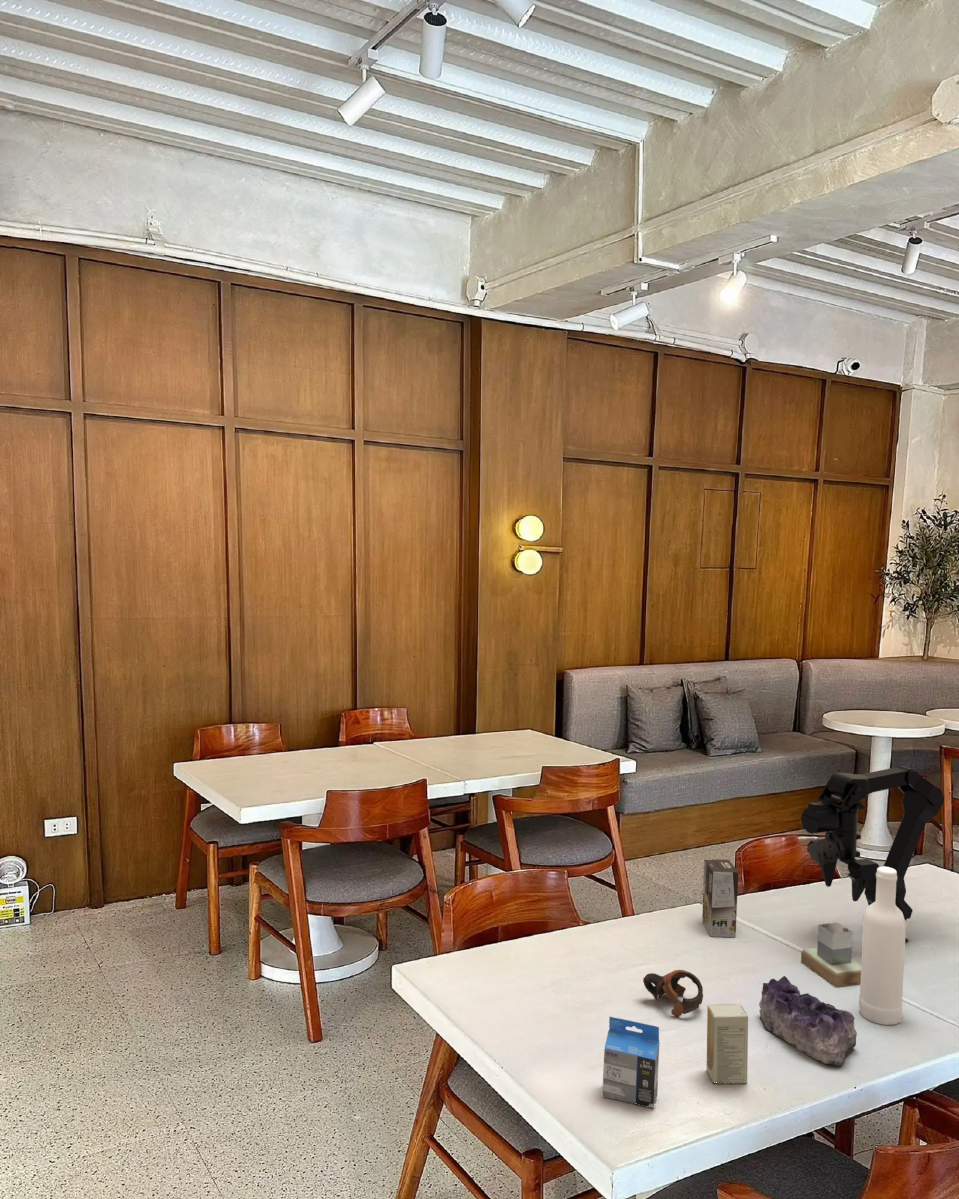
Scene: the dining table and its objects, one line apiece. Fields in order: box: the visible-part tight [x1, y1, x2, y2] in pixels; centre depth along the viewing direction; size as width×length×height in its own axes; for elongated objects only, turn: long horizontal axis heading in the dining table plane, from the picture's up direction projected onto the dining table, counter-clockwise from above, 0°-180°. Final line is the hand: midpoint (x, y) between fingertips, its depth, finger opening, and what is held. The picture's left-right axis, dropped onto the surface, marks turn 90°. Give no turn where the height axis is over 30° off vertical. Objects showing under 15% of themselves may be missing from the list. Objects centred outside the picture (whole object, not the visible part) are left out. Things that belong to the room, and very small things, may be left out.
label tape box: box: [602, 1016, 661, 1109], centre depth 149 cm, size 9×4×12 cm, turn 69°
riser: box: [800, 947, 861, 988], centre depth 196 cm, size 8×12×3 cm, turn 16°
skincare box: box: [706, 1003, 749, 1085], centre depth 155 cm, size 6×4×12 cm
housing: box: [816, 922, 854, 965], centre depth 196 cm, size 5×5×7 cm
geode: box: [758, 975, 858, 1068], centre depth 169 cm, size 20×12×10 cm, turn 34°
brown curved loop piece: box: [642, 969, 704, 1018], centre depth 180 cm, size 12×10×8 cm
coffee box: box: [702, 859, 739, 938], centre depth 217 cm, size 9×6×16 cm
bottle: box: [858, 865, 907, 1026], centre depth 177 cm, size 8×8×30 cm
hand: (841, 893), depth 208 cm, fingers open, 9 cm apart
